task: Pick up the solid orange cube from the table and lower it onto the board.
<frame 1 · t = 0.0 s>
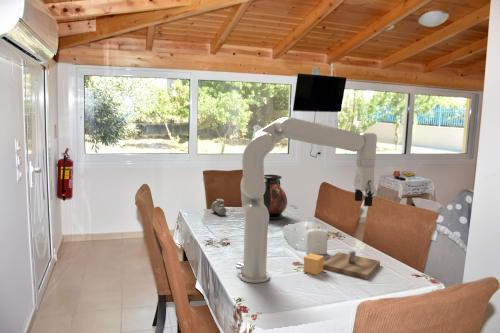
hand: (363, 203, 165), 31 cm above the table, fingers open, 9 cm apart
photo printer: (316, 253, 194), on the table
grey lumpy piece: (219, 214, 267), on the table
amphora vase: (270, 217, 262), on the table
solid orange cube: (313, 271, 172), on the table
board: (351, 266, 178), on the table
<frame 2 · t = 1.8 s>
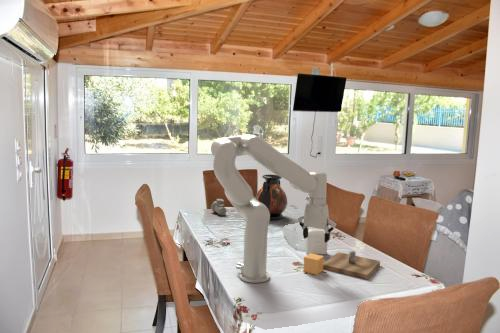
hand: (316, 239, 170), 14 cm above the table, fingers open, 9 cm apart
nothing on the table moved.
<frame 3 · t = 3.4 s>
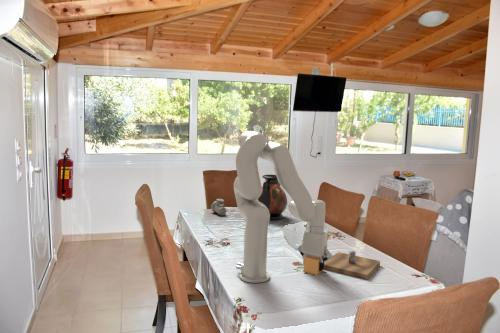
hand: (313, 268, 172), 1 cm above the table, fingers closed on solid orange cube, 6 cm apart
solid orange cube: (313, 271, 172), on the table, touching gripper
everything else where it was.
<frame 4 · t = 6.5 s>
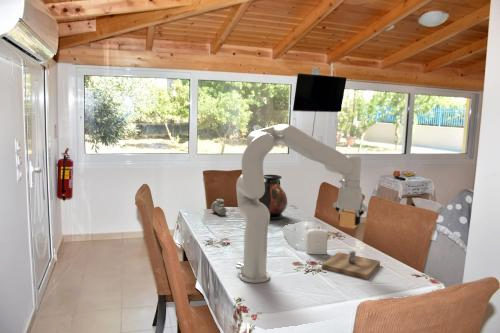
hand: (349, 223, 174), 20 cm above the table, fingers closed on solid orange cube, 6 cm apart
solid orange cube: (348, 225, 175), point 19 cm above the table, touching gripper
everything else where it was.
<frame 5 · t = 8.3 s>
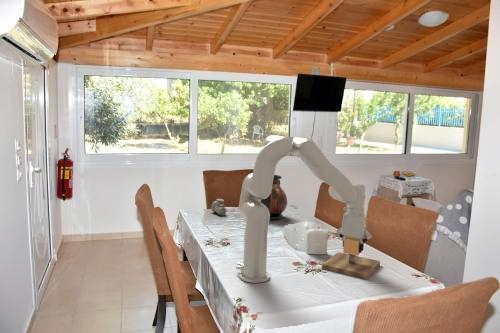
hand: (352, 249, 177), 8 cm above the table, fingers closed on solid orange cube, 6 cm apart
solid orange cube: (352, 252, 177), point 7 cm above the table, touching gripper
everything else where it was.
when the fingers open (5 cm above the table, at t = 9.8 s): solid orange cube drops 1 cm, resting on board.
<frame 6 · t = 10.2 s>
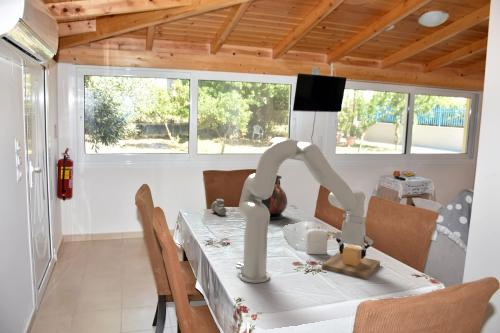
hand: (352, 255, 177), 5 cm above the table, fingers open, 9 cm apart
solid orange cube: (351, 262, 178), point 2 cm above the table, touching board
everything else where it was.
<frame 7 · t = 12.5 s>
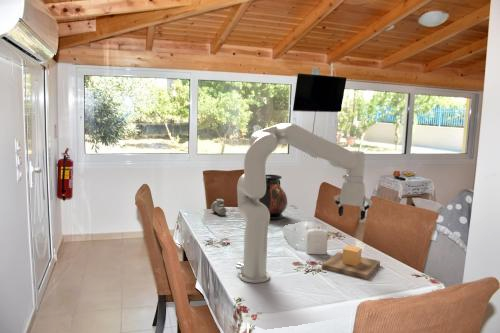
hand: (351, 217, 175), 23 cm above the table, fingers open, 9 cm apart
nothing on the table moved.
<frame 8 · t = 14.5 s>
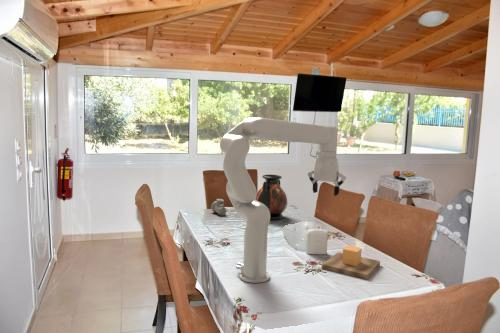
hand: (325, 193, 173), 33 cm above the table, fingers open, 9 cm apart
nothing on the table moved.
at the end: solid orange cube 0.0 cm off-centre on the board, point 2.0 cm above the board's base; solid orange cube tilted 0°; the gripper is holding nothing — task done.
